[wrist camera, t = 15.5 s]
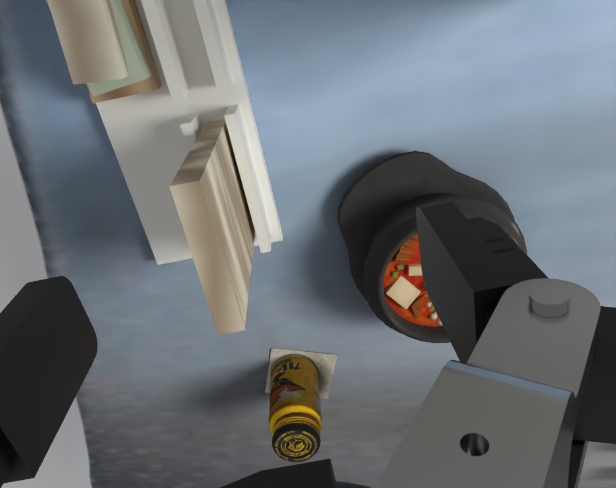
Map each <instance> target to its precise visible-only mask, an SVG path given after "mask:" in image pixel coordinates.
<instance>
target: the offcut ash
mask: <svg viewBox="0 0 616 488" xmlns="http://www.w3.org/2000/svg"><path fill="white" fill-rule="evenodd" d="M47 1H48V4H49V7H50V11H51V14H52V17H53V20H54V24H55V27H56V30H57V33H58V37H59V40H60V43H61V46H62V49H63V53H64V56H65V59H66V62H67V66H68V69H69V72H70V75H71V79H72V82H73V85H75V84H84V83H92V82H101V81H109V80H118V79H123V78H125V77H127V76H129V72H128V68H127V64H126V60H125V56H124V52H123V49H122V45H121V41H120V37H119V33H118V29H117V25H116V21H115V17H114V14H113V10H112V6H111V2H110V0H47Z"/></svg>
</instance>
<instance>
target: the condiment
mask: <svg viewBox="0 0 616 488" xmlns="http://www.w3.org/2000/svg"><path fill="white" fill-rule="evenodd" d="M336 360H337V355H335V354H322V353H313V352H305V351H295V350H286V349H271V354H270V361H269V367H268V374H267V381H266V388H265V393H270V417H269V427H270V431H271V433H272V446H273V449H274V451H275V453H276V454H277V455H278V456H279V457H280V458H282V459H284V460H287V461H292V462H301V461H305V460H307V459H309V458H310V457H312V456H313V455H314V454H316V453H317V451H318V449H319V447H320V441H321V440H320V430H321V427H322V417H321V406H320V398H327V399H328V396H329V391H330V386H331V382H332V377H333V372H334V368H335V364H336ZM316 363H317V364H318V365H320V367H319V366H318V365H316Z"/></svg>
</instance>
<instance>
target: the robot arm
mask: <svg viewBox="0 0 616 488" xmlns="http://www.w3.org/2000/svg"><path fill="white" fill-rule="evenodd" d="M416 221H417V231H418V240H419V250H420V260H421V269H422V275H423V280H424V284H425V288H426V291H427V294H428V296H429V298H430V300H431V302H432V304H433V306H434V308H435V310H436V313H437V315H438V317H439V319H440V321H441V323H442V325H443V327H444V329H445V331H446V333H447V335H448V337H449V339H450V341H451V344H452V346H453V348H454V350H455V352H456V354H457V356H458V358H459V360H460V361H456V360H450V361H449V362H447V363H446V365H445V366H444V367H443V369H442V370H441V372H440V374H439V376H438V377H437V379H436V381H435V383H434V384H433V386H432V388H431V390H430V391H429V393H428V395H427V396H426V398H425V400H424V402H423V403H422V405H421V407H420V409H419V410H418V412H417V414H416V416H415V417H414V419H413V421H412V423H411V424H410V426H409V428H408V430H407V431H406V433H405V435H404V436H403V438H402V440H401V442H400V443H399V445H398V447H397V449H396V450H395V452H394V454H393V456H392V457H391V459H390V461H389V463H388V464H387V466H386V468H385V470H384V471H383V473H382V475H381V477H380V478H379V480H378V482H377V483H376V485H375V487H374V488H578V484H579V480H580V476H581V471H582V467H583V463H584V458H585V454H586V450H587V445H588V441H592V442H602V443H612V444H616V308H613V307H603V306H600V303H599V301H598V299H597V297H596V296H595V295H594V294H593V293H592V292H590V291H589V290H588V289H586V288H584V287H582V286H580V285H577V284H575V283H572V282H568V281H564V280H559V279H549V278H548V277H547V276H546V275H545V274H544V273H543V272H542V271H541V270H540V269H539V268H538V267H537V265H536V264H535V263H534V262H533V261H532V260H531V259H530V258H529V257H528V256H527V255H526V254H525V253H524V252H523V250H522V249H519V246H518V245H517V244H516V243H515V242H514V241H513V240H512V239H510V237H509V235H508V234H507V233H506V232H505V231H504V230H503V229H502V228H501V227H500V226H499V225H498V224H495V223H493V222H491V221H488V220H486V219H484V218H482V217H475V218H470V219H466V217H465V216H464V215H463V214H462V212H461V211H460V210H459V209H458V208H457V206H456V205H455V204H454V203H453V202H452V201H451V200H449V201H444V202H439V203H434V204H429V205H423V206H418V207H417V209H416ZM96 353H97V337H96V333H95V331H94V328H93V326H92V324H91V322H90V320H89V318H88V316H87V314H86V312H85V310H84V308H83V306H82V303H81V301H80V299H79V297H78V295H77V293H76V291H75V289H74V287H73V285H72V283H71V282H70V281H69V280H68V279H67V278H66V277H64V276H59V277H54V278H49V279H44V280H39V281H34V282H29V283H27V284H26V285H25V286H24V287H23V288H22V289H21V290H20V291H19V293H18V294H17V295H16V296H15V297H14V298H13V299H12V300H11V302H10V303H9V304H8V305H7V306H6V308H5V309H4V310H3V311H2V312H1V313H0V488H1V486H2V485H3V483H8V482H13V481H19V480H25V479H30V478H34V477H35V475H36V473H37V471H38V469H39V467H40V465H41V463H42V461H43V459H44V457H45V455H46V454H47V452H48V450H49V448H50V446H51V444H52V442H53V440H54V438H55V436H56V434H57V432H58V430H59V428H60V426H61V424H62V422H63V420H64V418H65V416H66V414H67V412H68V410H69V408H70V406H71V404H72V402H73V400H74V398H75V396H76V394H77V393H78V391H79V389H80V387H81V385H82V383H83V381H84V379H85V377H86V375H87V373H88V371H89V369H90V367H91V365H92V363H93V361H94V359H95V357H96ZM221 488H370V487H367V486H363V485H358V484H353V483H348V482H337V481H336V480H335V476H334V472H333V468H332V464H331V460H330V459H326V460H320V461H314V462H309V463H303V464H297V465H292V466H286V467H280V468H275V469H269V470H263V471H260V472H257V473H255V474H253V475H250V476H248V477H245V478H243V479H240V480H238V481H235V482H233V483H230V484H228V485H226V486H223V487H221Z"/></svg>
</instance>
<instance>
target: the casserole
mask: <svg viewBox="0 0 616 488" xmlns="http://www.w3.org/2000/svg"><path fill="white" fill-rule="evenodd" d="M449 200H451V201H452V202H453V203H454V204H455V205H456V206H457V208H458V209H459V210H460V211H461V212H462V214H463V215H464V216H465V217H466V219H470V218H475V217H482V218H484V219H486V220H488V221H491V222H493V223H495V224H498V225H499V226H500V227H501V228H502V229H503V230H504V231H505V232H506V233H507V234H508V235H509V237H510V239H512V240H513V241H514V242H515V243H516V244H517V245H518V246H519V249H522V250H523V252H524V253H525V254H526V255H527V250H526V245H525V241H524V237H523V235H522V233H521V231H520V229H519V227H518V225H517V224H516V222H515V221H514V216H513V214H512V212H511V210H510V208H509V206H508V204H507V203H506V202H505V201H504V199H503V198H502V197H501V196H500V195H499V193H498V192H496V191H495V190H494V189H492V188H491V187H490V186H488V185H487V184H485V183H484V182H481V181H479V180H476V179H474V178H471V177H469V176H467V175H464V174H462V173H459V172H457V171H455V170H453V169H452V168H450V167H449V166H448V165H446V164H445V163H444V162H442V161H441V160H439V159H437V158H436V157H434V156H433V155H431V154H429V153H425V152H418V151H413V152H407V153H402V154H398V155H396V156H393V157H391V158H388V159H386V160H384V161H382V162H380V163H379V164H377V165H376V166H374V167H372V168H371V169H369V170H368V171H367V172H365V173H364V174H363V175H362V176H361V177H360V178H359V179H358V180H357V181H356V182H355V183H354V184H353V185H352V187H351V188H350V189H349V190H348V192H347V193H346V194H345V196H344V198H343V200H342V202H341V204H340V206H339V212H338V223H339V226H340V229H341V232H342V234H343V237H344V239H345V242H346V244H347V247H348V251H349V258H350V264H351V271H352V276H353V278H354V281H355V283H356V286H357V288H358V289H359V291H360V292H361V294H362V295H363V296H364V298H365V299H366V300H367V301H368V303H369V305H370V307H371V309H372V310H373V311H374V313H375V314H376V316H377V317H378V318H379V319H380V320H381V321H383V322H384V323H385V324H386V325H387V326H389V327H390V328H392V329H394V330H396V331H397V332H399V333H402V334H404V335H406V336H408V337H410V338H413V339H416V340H419V341H424V342H431V343H448V342H451V341H450V339H449V337H448V335H447V333H446V331H445V329H444V327H443V325H442V323H441V321H440V319H439V317H438V315H437V313H436V310H435V308H434V306H433V304H432V302H431V300H430V298H429V296H428V294H427V291H426V288H425V284H424V280H423V275H422V269H421V260H420V250H419V240H418V231H417V221H416V209H417V207H418V206H423V205H429V204H434V203H439V202H444V201H449Z"/></svg>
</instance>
